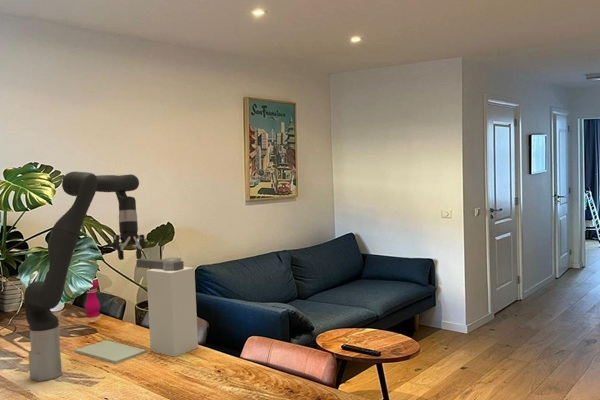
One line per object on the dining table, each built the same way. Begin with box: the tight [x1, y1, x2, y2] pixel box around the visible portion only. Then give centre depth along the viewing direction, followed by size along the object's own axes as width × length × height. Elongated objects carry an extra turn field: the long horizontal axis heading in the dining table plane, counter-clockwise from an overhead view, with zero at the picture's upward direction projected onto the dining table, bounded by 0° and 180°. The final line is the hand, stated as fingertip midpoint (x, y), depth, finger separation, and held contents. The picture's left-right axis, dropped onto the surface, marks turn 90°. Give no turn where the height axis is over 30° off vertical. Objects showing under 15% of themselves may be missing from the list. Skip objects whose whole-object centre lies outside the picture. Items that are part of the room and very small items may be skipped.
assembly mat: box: [74, 339, 147, 365], centre depth 211 cm, size 14×26×1 cm, turn 55°
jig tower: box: [146, 266, 199, 358], centre depth 211 cm, size 12×14×32 cm
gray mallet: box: [136, 257, 185, 271], centre depth 213 cm, size 7×22×4 cm, turn 58°
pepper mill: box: [84, 279, 101, 318], centre depth 269 cm, size 7×7×20 cm
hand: (130, 259), depth 228 cm, fingers open, 8 cm apart
